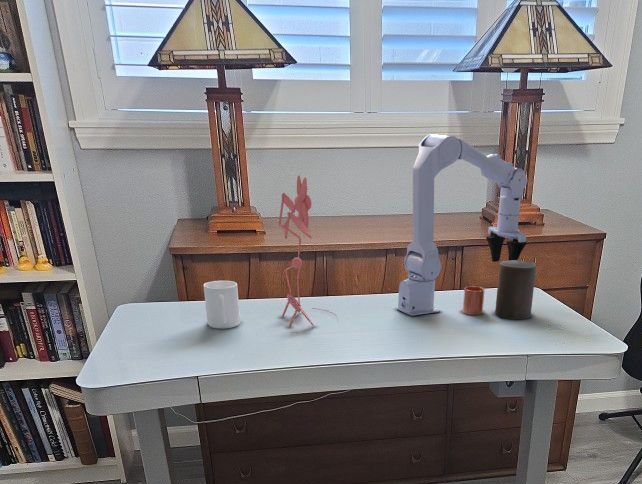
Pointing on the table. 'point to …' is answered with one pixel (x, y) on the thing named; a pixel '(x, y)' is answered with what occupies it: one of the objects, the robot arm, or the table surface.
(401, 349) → the table surface
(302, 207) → the pink stick figure
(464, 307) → the terracotta pipe segment
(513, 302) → the pillar candle
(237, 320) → the cup
